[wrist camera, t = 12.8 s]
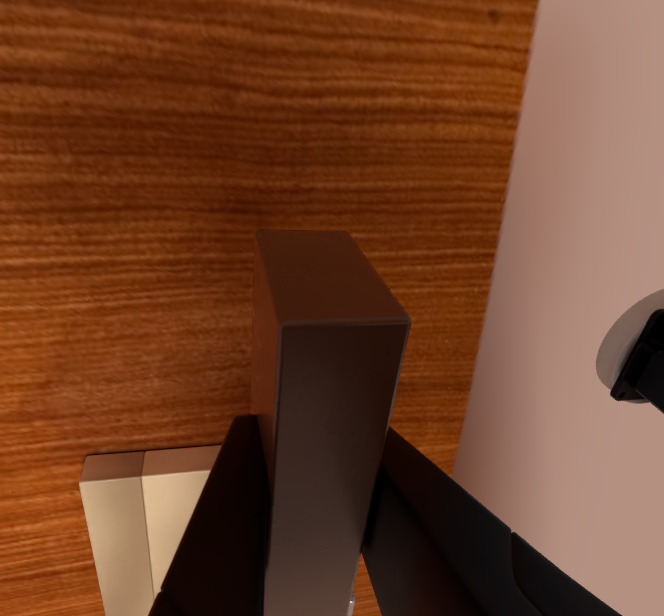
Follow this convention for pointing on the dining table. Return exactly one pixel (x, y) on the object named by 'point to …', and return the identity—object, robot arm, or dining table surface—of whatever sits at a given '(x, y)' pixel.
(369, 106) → the dining table surface
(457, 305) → the dining table surface
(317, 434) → the fork
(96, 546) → the board
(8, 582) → the dining table surface
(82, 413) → the dining table surface
